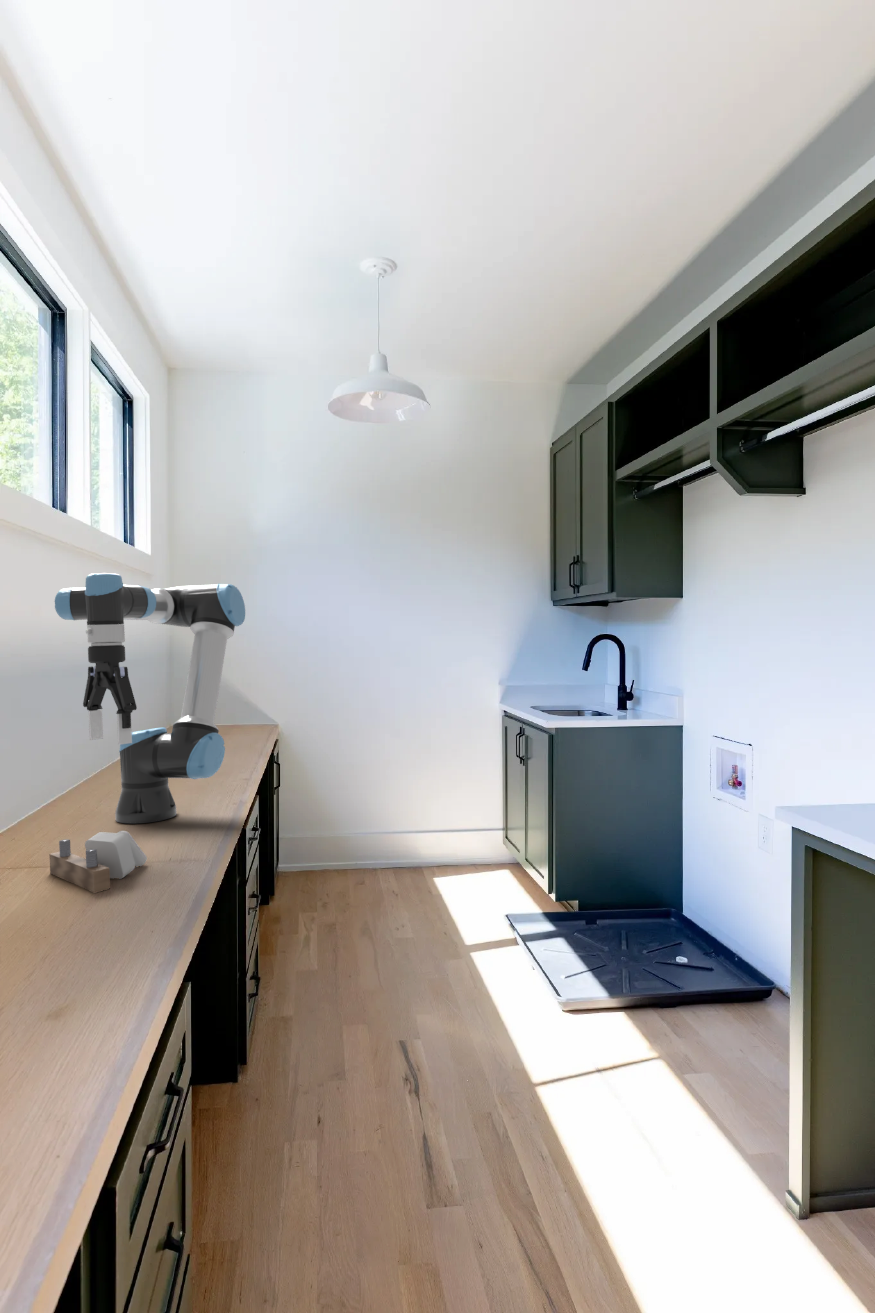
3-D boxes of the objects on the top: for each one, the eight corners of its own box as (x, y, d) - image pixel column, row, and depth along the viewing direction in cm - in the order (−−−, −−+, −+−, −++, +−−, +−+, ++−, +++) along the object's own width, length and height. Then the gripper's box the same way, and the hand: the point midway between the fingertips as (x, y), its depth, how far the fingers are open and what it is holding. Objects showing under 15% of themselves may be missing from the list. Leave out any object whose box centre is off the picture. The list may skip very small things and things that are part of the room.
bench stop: (50, 873, 165) (48, 839, 165) (65, 869, 167) (63, 836, 167) (94, 892, 151) (92, 855, 151) (110, 888, 153) (108, 852, 153)
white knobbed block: (160, 861, 169) (150, 818, 166) (126, 888, 160) (115, 842, 157) (129, 859, 172) (119, 815, 169) (94, 884, 163) (83, 839, 160)
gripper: (64, 645, 183) (68, 739, 184) (116, 644, 166) (120, 747, 167) (97, 644, 189) (101, 735, 189) (150, 643, 172) (154, 743, 172)
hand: (110, 741), depth 178 cm, fingers open, 13 cm apart
